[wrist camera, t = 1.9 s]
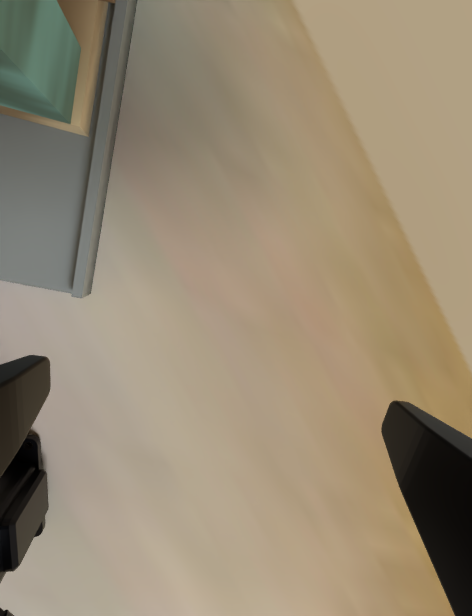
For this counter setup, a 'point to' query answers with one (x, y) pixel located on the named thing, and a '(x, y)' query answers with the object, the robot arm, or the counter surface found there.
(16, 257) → the lane tray
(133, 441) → the counter surface
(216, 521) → the counter surface
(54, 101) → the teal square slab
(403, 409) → the robot arm
